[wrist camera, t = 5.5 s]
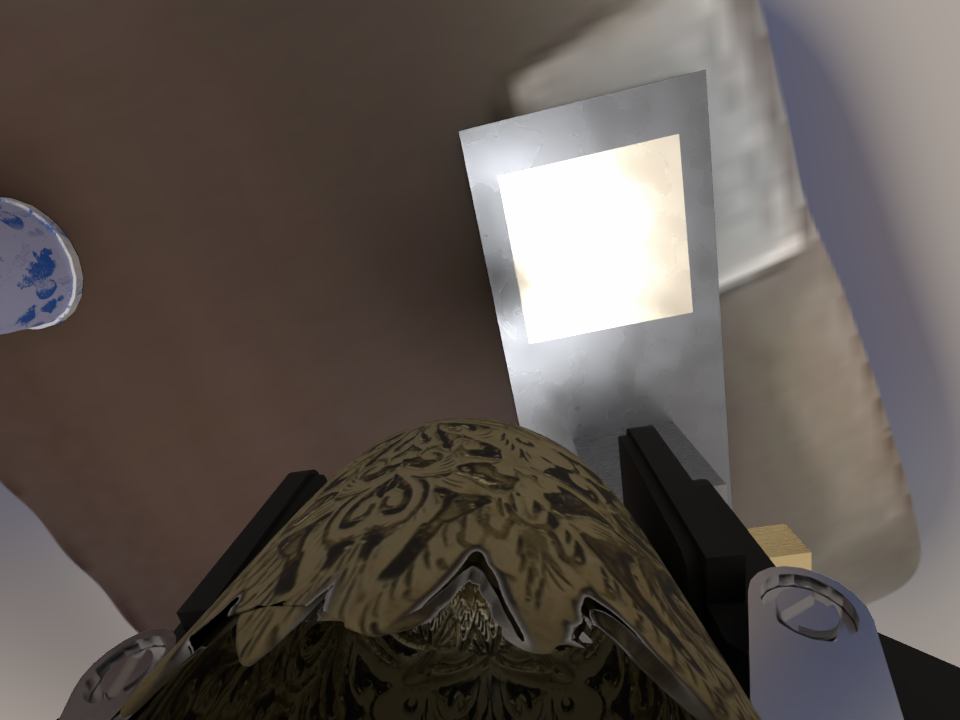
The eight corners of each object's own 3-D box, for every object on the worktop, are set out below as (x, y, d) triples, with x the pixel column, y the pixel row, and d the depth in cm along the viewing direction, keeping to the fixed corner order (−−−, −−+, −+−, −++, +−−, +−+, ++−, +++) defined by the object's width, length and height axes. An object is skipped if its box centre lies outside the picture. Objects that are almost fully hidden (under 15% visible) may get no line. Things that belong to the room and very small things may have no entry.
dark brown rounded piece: (306, 361, 11) (-126, 692, 3) (606, 312, 10) (898, 599, 3) (380, 593, 13) (219, 1100, 6) (630, 567, 13) (824, 1110, 5)
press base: (461, 136, 24) (441, 95, 16) (692, 79, 22) (791, 4, 15) (543, 537, 31) (557, 641, 23) (721, 512, 30) (797, 613, 22)
